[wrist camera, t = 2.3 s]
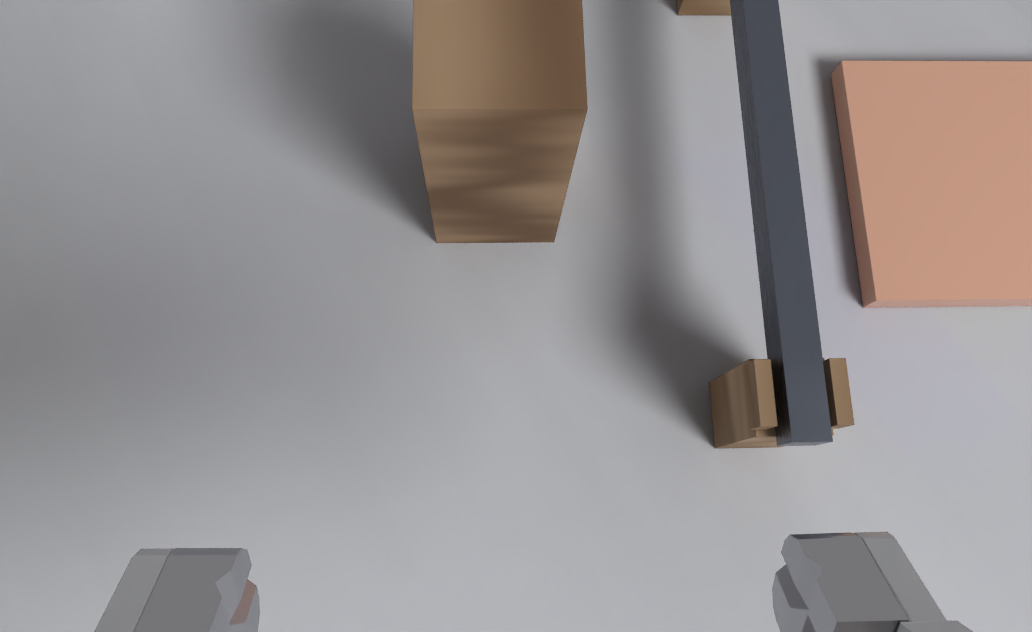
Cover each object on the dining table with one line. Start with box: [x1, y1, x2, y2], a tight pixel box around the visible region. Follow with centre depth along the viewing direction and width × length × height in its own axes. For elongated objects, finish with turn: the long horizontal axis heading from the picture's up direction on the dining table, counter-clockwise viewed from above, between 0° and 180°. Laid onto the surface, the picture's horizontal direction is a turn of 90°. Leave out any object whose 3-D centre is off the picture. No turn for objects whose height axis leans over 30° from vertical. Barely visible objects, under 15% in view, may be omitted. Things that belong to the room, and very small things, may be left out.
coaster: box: [831, 61, 1032, 308], centre depth 30 cm, size 10×10×1 cm
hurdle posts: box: [676, 0, 854, 448], centre depth 28 cm, size 3×20×5 cm, turn 1°
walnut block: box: [412, 0, 587, 243], centre depth 25 cm, size 4×4×10 cm
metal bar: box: [730, 0, 833, 446], centre depth 25 cm, size 1×21×1 cm, turn 1°
